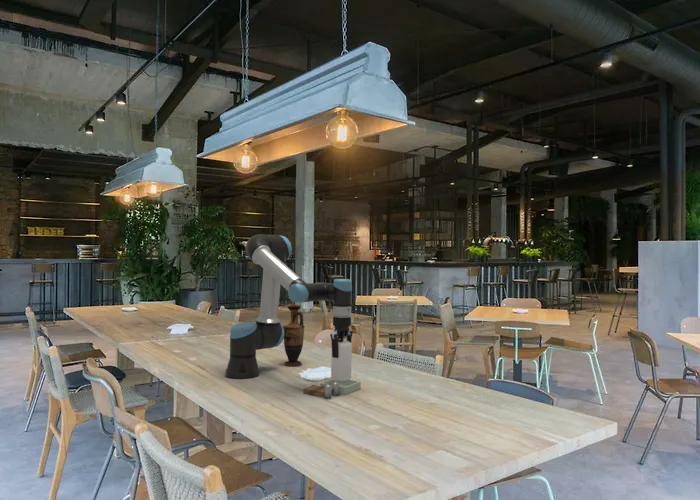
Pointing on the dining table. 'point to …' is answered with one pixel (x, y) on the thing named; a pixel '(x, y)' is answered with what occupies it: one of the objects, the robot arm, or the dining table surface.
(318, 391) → the tan wooden board
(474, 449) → the dining table surface
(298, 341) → the vase
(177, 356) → the dining table surface
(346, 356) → the potion bottle
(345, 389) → the tray
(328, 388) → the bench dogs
